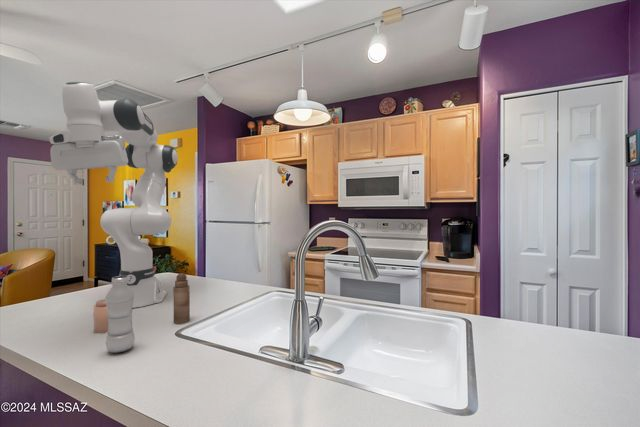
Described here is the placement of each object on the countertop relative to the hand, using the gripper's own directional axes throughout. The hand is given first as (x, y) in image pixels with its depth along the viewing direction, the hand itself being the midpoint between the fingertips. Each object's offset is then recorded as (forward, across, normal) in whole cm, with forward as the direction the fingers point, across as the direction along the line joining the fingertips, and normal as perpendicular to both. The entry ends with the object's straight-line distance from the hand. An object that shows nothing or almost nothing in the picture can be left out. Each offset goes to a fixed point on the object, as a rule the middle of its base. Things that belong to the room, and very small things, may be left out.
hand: (94, 183), depth 92 cm
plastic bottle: (+47, -10, +16) cm, 50 cm away
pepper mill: (+49, -18, -5) cm, 52 cm away
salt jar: (+46, +4, 0) cm, 47 cm away
